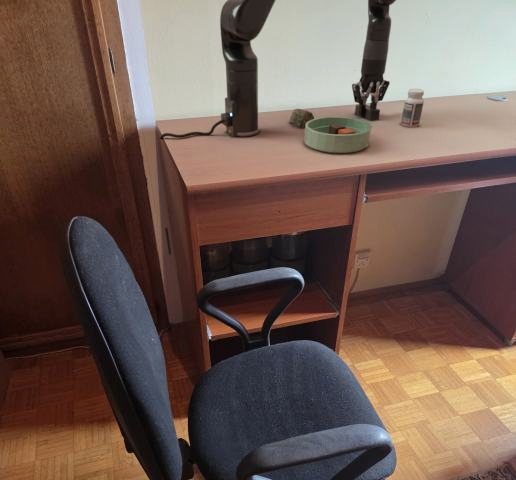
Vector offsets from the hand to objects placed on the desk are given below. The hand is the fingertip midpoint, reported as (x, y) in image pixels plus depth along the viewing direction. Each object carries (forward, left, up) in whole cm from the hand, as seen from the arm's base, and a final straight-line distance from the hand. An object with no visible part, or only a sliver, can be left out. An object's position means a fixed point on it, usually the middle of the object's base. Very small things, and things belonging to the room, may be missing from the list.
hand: (366, 115), depth 153 cm
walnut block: (-23, -18, 0) cm, 29 cm away
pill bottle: (+7, -14, -1) cm, 16 cm away
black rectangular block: (0, 0, 0) cm, 0 cm away
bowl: (-25, -20, 0) cm, 32 cm away
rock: (-24, +2, -1) cm, 24 cm away
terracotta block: (-23, -23, 0) cm, 33 cm away
